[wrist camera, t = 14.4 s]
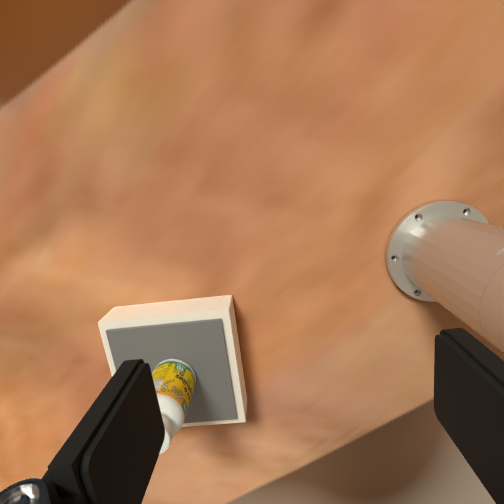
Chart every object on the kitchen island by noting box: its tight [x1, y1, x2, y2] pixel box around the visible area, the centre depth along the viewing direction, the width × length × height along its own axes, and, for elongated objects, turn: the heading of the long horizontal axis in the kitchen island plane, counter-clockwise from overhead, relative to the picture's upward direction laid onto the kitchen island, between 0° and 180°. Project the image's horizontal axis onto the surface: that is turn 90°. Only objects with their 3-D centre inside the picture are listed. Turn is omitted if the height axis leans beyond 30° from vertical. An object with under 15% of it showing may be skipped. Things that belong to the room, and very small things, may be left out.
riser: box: [98, 295, 247, 427], centre depth 42 cm, size 16×16×5 cm
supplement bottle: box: [152, 359, 196, 455], centre depth 35 cm, size 5×5×10 cm
